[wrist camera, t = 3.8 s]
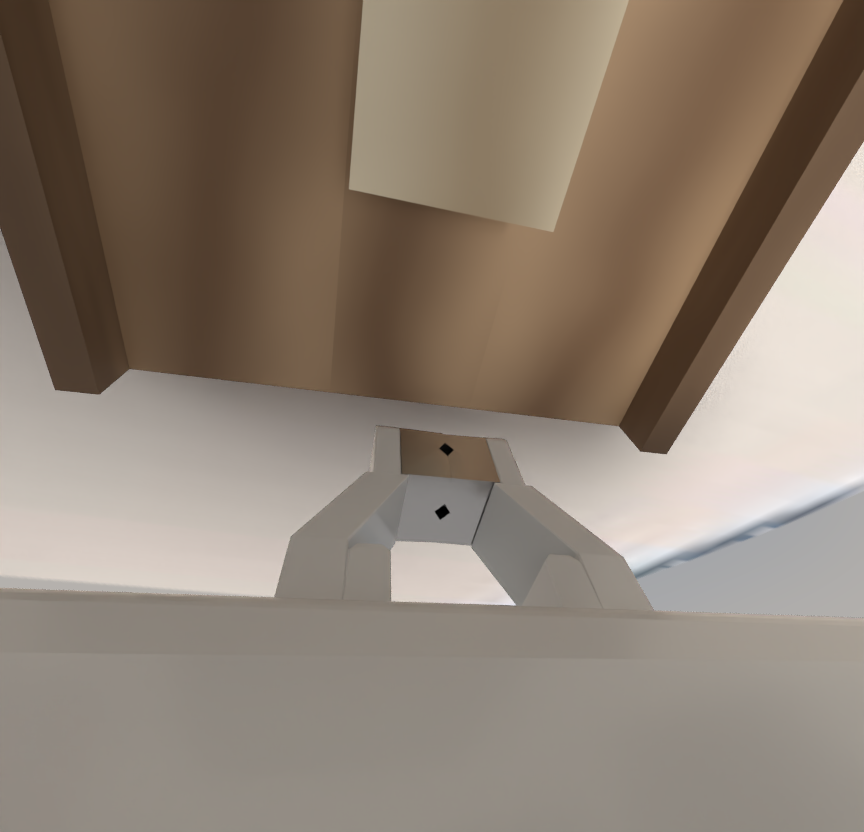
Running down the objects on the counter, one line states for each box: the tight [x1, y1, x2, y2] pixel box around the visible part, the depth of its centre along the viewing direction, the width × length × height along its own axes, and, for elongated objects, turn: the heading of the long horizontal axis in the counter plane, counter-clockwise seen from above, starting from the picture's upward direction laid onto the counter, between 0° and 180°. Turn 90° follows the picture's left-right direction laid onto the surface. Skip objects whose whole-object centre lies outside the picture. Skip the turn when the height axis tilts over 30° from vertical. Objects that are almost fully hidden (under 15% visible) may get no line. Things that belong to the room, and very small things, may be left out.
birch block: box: [349, 0, 629, 232], centre depth 8 cm, size 4×4×3 cm
